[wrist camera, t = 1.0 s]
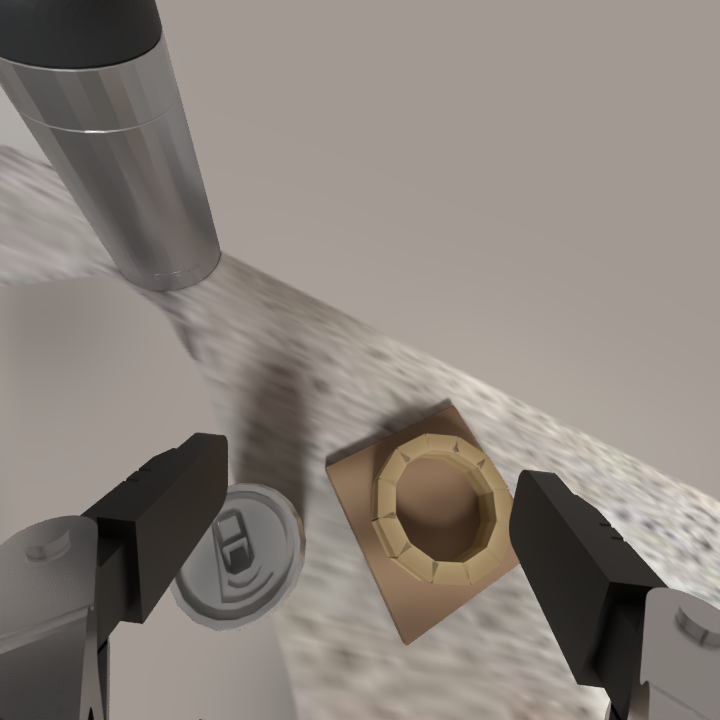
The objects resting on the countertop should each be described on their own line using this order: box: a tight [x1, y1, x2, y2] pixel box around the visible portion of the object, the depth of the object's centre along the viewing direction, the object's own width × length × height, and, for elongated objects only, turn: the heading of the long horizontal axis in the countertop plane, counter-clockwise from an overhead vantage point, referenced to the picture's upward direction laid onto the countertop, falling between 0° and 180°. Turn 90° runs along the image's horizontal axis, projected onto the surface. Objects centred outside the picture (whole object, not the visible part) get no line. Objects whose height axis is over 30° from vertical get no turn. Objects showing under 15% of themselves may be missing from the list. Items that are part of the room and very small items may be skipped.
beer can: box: [169, 483, 306, 631], centre depth 19 cm, size 5×5×12 cm
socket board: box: [325, 405, 520, 645], centre depth 26 cm, size 12×12×4 cm
